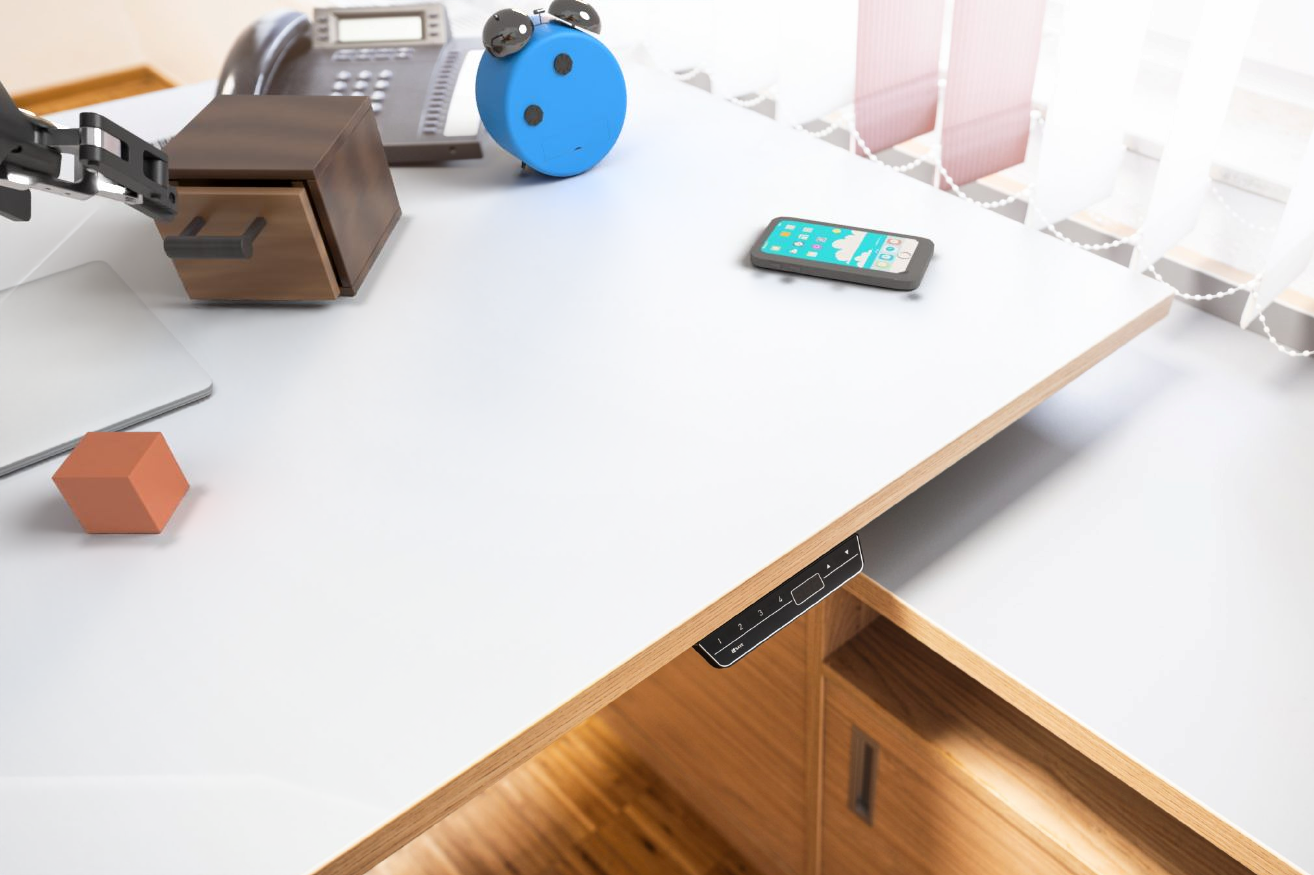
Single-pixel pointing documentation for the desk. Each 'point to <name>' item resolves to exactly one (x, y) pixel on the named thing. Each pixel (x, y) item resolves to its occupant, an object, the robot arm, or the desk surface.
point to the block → (122, 482)
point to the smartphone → (843, 252)
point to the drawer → (249, 241)
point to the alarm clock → (550, 88)
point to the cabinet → (302, 164)
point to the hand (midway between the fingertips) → (97, 206)
